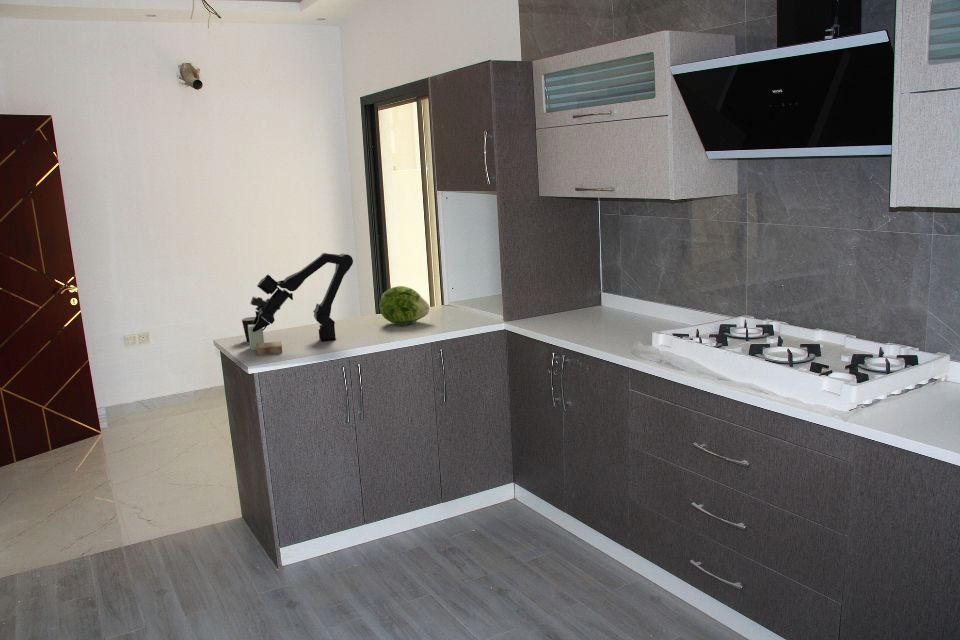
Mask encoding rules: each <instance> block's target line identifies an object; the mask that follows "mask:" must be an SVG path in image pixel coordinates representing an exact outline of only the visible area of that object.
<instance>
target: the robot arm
mask: <svg viewBox="0 0 960 640" xmlns="http://www.w3.org/2000/svg"><path fill="white" fill-rule="evenodd" d="M327 263H329V264H335V268H334V273H333V276H332V277H331V281H330V283H329V285H328V287H327V290H326V293H325V295H324V297H323V300H322V302H321V303H316V305H315V308H314V309H313V311H312V312H313V318H314V320H316V322H317V323H318V324H319V329H318V338H319V340H320V341H321V342H324V341H325V342H327V341H336V340H337V337H336V328H335V326H336V325H335V324H336V322H335V321H334V320H333V318H331V317H330V316H331V312H332V306H333V302H334V300H335V298H336V296H337V293H338V291H339V289H340V286H341V284H342V281H343V279H344V277H345V276H346V274H347V273H348V271H349V270H350V269H351V267H352V265H353V263H354V259H353V257H352V256H351V255H350V254H348V253H340V254H336V253H335V254H334V253H328V252H322V253H321V254H320V255H319V256H318V257H316V258H315V259H314V260H313V261H311V262H310V263H309V264H308V265H306V266H305V267H303V268H302V269H300V271H297V272H295V273H292V274H291V275H289V276H286V277H285V278H284V279H283V280H279V281H277V280H275V279H274V278H273V277H272V276H271V275H269V274H266V275H265V276H264V277H263V278H261V280H259V282H258V284H257V285H256V287H257V288H259V290H261V291H262V292H264V293H265V294H266V295H269V294H270V295H271V296H270V297H268V298H266V299H263V298H262V297H259V296H258V297H257V296H252V297H251V300H250V305H252V306H255V307H256V308H255V316H254V317H255V319H254V321H253V323H252V324H256V325H255V326H254V328H253V330H252V331H253V332H256V331H257V330H259V329H261V328H263V329H264V327H265V326H267V327H268V326H269V325H273V324H274V323H275V321H276V320H275V314H276V313H277V311H280V310H281V307H282V306H283V304H285V302H286V301H287V300H288V299H290V300H291V301H294V297H293V296H294V293H293V292H295V291H297V290H298V289H299V287H300V286H302V284H303V283H304V282H305V280H306V279H307V278H308V277H310V276H312V275H313V274H314V273H316V272H317V271H318V270H319V269H321V268H322V267H323V266H325V265H326V264H327ZM290 292H291V293H290Z"/></svg>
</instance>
